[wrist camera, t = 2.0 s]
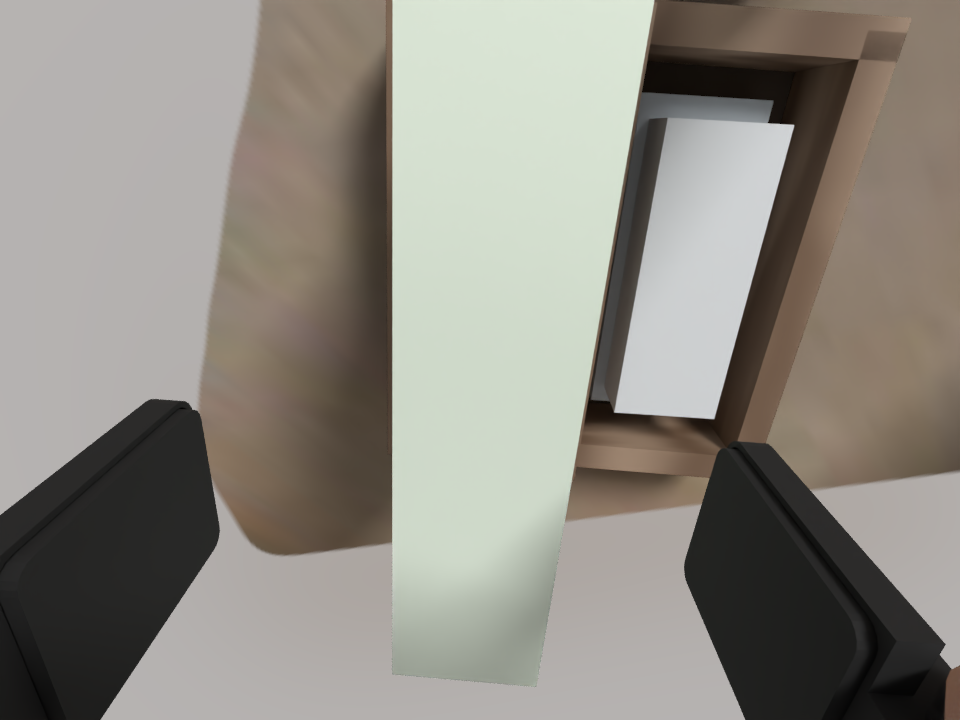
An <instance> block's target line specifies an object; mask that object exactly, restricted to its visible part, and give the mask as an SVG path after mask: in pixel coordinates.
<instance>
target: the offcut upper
mask: <svg viewBox="0 0 960 720" xmlns="http://www.w3.org/2000/svg"><path fill="white" fill-rule="evenodd" d="M793 129H794V125H787V124H770V123H753V122H735V121H718V120H701V119H684V118H655V119H649V124H648V130H647V135H646V141H645V147H644V153H643V159H642V165H641V171H640V177H639V183H638V189H637V195H636V201H635V207H634V212H633V218H632V224H631V230H630V236H629V242H628V248H627V254H626V260H625V266H624V272H623V278H622V284H621V290H620V295H619V301H618V307H617V313H616V319H615V325H614V331H613V337H612V343H611V349H610V355H609V361H608V367H607V372H606V378H605V384H604V388H605V390H606V393H607V395H608V398H609V400H610V403H611V405H612V408H613V411H614V412H615V413H630V414H645V415H660V416H675V417H690V418H705V419H714V418H715V414H716V411H717V407H718V403H719V400H720V396H721V392H722V389H723V385H724V381H725V378H726V374H727V370H728V367H729V363H730V359H731V356H732V352H733V348H734V345H735V341H736V337H737V334H738V330H739V326H740V323H741V319H742V315H743V312H744V308H745V304H746V301H747V297H748V293H749V290H750V286H751V282H752V279H753V275H754V272H755V268H756V264H757V261H758V257H759V253H760V250H761V246H762V242H763V239H764V235H765V231H766V228H767V224H768V220H769V217H770V213H771V209H772V206H773V202H774V198H775V195H776V191H777V187H778V184H779V180H780V176H781V173H782V169H783V165H784V162H785V158H786V154H787V151H788V147H789V143H790V140H791V136H792V132H793Z"/></svg>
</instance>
